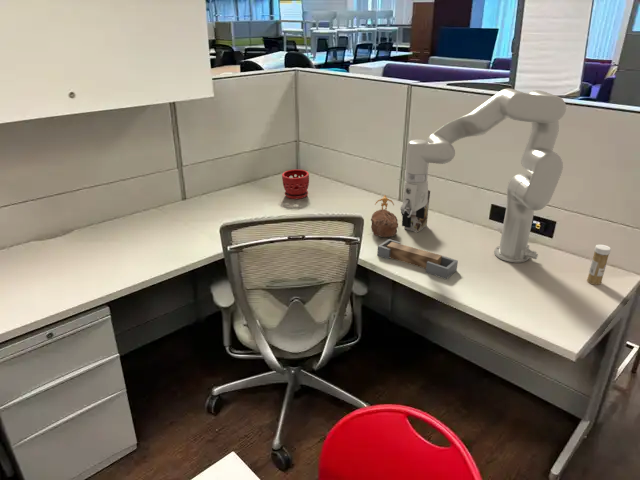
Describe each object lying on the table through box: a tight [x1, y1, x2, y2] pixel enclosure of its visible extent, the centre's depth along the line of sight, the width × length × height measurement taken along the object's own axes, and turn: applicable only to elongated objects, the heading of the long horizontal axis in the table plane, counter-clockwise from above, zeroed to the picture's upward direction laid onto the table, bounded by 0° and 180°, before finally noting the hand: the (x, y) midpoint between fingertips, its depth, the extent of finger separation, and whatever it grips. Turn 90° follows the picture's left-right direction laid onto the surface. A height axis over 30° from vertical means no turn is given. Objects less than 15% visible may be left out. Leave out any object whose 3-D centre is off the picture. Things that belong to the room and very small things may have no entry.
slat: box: [387, 242, 443, 269], centre depth 181 cm, size 20×4×5 cm, turn 55°
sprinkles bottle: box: [586, 243, 612, 286], centre depth 165 cm, size 5×5×14 cm
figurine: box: [374, 194, 395, 210], centre depth 214 cm, size 8×6×12 cm
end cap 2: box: [425, 254, 459, 280], centre depth 174 cm, size 8×8×4 cm
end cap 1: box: [376, 238, 401, 260], centre depth 187 cm, size 5×8×4 cm, turn 141°
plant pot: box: [281, 169, 310, 200], centre depth 241 cm, size 13×13×12 cm
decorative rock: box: [370, 208, 399, 238], centre depth 202 cm, size 13×11×10 cm
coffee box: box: [404, 189, 431, 233], centre depth 206 cm, size 9×6×16 cm
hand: (413, 222), depth 176 cm, fingers open, 9 cm apart
